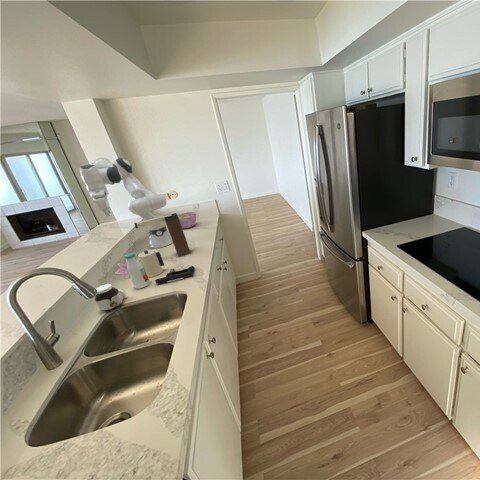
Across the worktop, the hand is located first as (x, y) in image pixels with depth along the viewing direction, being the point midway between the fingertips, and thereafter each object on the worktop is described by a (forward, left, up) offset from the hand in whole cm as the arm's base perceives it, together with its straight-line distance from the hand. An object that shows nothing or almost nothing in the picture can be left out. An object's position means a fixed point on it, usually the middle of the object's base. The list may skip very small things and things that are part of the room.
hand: (108, 214), depth 164 cm
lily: (+14, -1, -37) cm, 40 cm away
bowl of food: (-61, +46, -37) cm, 85 cm away
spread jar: (+48, -8, -37) cm, 61 cm away
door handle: (+39, +23, -37) cm, 59 cm away
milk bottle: (+36, +5, -37) cm, 52 cm away
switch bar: (+4, +22, -11) cm, 25 cm away
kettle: (+24, +12, -37) cm, 46 cm away
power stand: (+4, +32, -37) cm, 49 cm away
